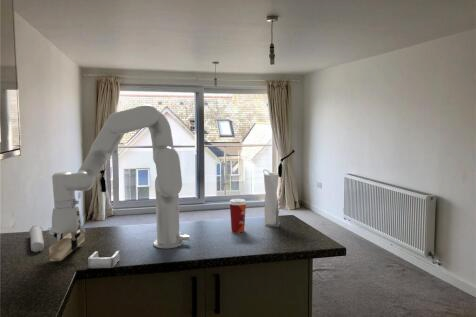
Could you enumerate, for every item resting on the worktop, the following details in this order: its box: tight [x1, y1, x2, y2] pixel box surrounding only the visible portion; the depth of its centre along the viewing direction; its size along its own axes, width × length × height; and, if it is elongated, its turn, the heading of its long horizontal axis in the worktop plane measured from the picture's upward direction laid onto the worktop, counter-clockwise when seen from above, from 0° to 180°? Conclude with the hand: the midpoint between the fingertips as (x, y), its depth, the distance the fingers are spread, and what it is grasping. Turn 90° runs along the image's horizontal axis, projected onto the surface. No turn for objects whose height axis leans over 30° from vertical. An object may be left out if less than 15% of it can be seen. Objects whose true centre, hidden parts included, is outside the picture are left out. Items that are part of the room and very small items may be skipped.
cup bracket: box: [87, 250, 121, 269], centre depth 139 cm, size 9×8×4 cm
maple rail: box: [48, 230, 85, 262], centre depth 149 cm, size 4×22×5 cm, turn 1°
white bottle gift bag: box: [263, 169, 281, 228], centre depth 189 cm, size 8×8×28 cm
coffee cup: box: [228, 198, 247, 234], centre depth 179 cm, size 8×8×15 cm
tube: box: [29, 225, 45, 253], centre depth 162 cm, size 5×5×25 cm
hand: (68, 248), depth 149 cm, fingers closed on maple rail, 4 cm apart
